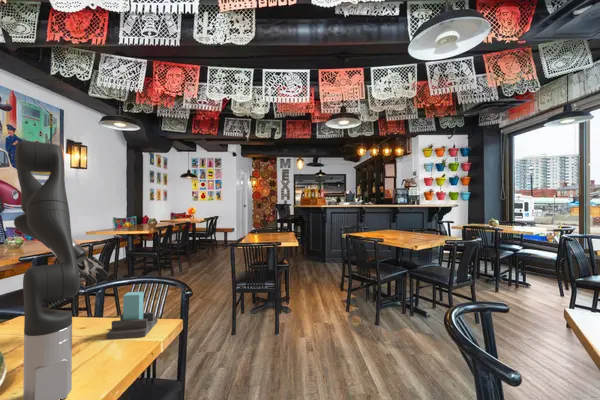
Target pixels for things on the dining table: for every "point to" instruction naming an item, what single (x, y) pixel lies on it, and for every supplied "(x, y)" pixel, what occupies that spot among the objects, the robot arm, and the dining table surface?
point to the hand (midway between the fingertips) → (101, 280)
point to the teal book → (133, 306)
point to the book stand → (132, 327)
